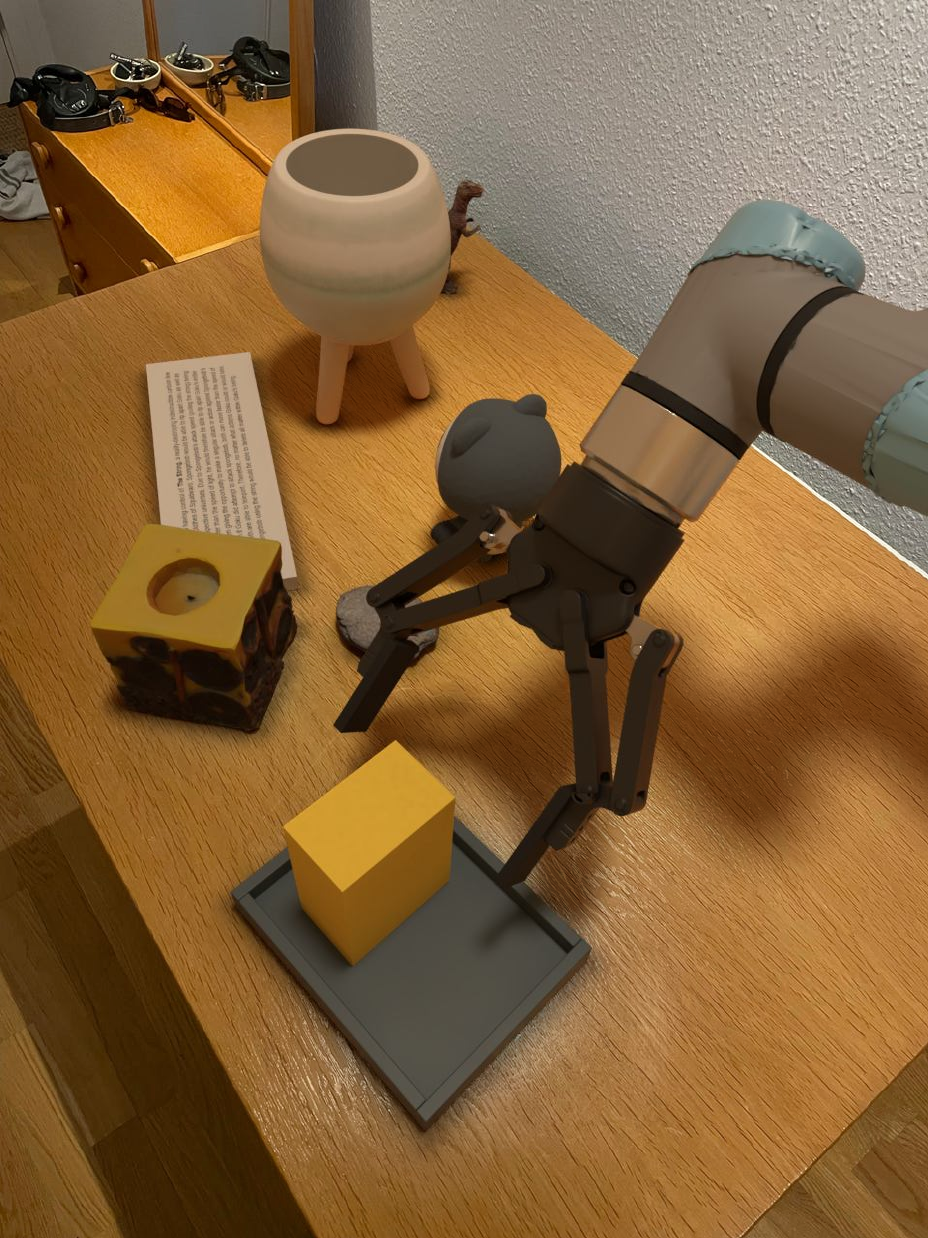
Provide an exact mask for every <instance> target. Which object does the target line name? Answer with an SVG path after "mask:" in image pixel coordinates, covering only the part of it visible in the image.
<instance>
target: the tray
mask: <svg viewBox="0 0 928 1238" xmlns="http://www.w3.org/2000/svg"><path fill="white" fill-rule="evenodd" d="M504 865H505V863H504V862H503V860H501V858H499V857H498V856H497V855H496V854H495V853H494V852H493V851H492V850H491V849H489V847H488V846H487V845H486V844H484V842H482V840H480V838H478V837H477V836H476V835H475V834H474V833H473V832H472V831H471V830H470V829H469V828H467V827H466V825H465V824H463V823H462V822H461V820H459V819H458V818H457V817H456V816H455V815H454V825H453V838H452V852H451V866H450V879H449V881H448V882H447V883H446V884H445V885H444V886H443V887H442V888H441V889H439V890H438V891H437V892H436V893H435V894H434V895H433V896H432V897H430V898H429V899H428V900H427V901H426V902H425V903H424V904H423V905H421V906H420V907H419V908H418V909H417V910H416V911H415V912H414V913H412V914H411V915H410V916H409V917H408V918H407V919H406V920H405V921H403V922H402V923H401V924H400V925H399V926H398V927H397V928H396V929H394V930H393V931H392V932H391V933H390V934H389V935H388V936H387V937H385V938H384V939H383V940H382V941H381V942H380V943H379V944H378V945H376V946H375V947H374V948H373V949H372V950H371V951H370V952H369V953H367V954H366V955H365V956H364V957H363V958H362V959H361V960H360V961H358V962H357V963H356V964H355V965H354V966H352V965H351V964H350V963H349V962H348V961H347V959H346V958H345V957H344V956H343V955H342V954H341V953H340V951H339V950H338V949H337V948H336V947H335V946H334V945H333V943H332V942H331V941H330V940H329V939H328V938H327V936H326V935H325V934H324V933H323V932H322V931H321V930H320V928H319V927H318V926H317V925H316V924H315V923H314V922H313V920H312V919H311V918H310V917H309V916H308V915H307V914H306V912H305V911H304V910H303V909H302V907H301V903H300V899H299V894H298V890H297V886H296V881H295V877H294V873H293V868H292V864H291V860H290V855H289V851H288V847H287V846H286V847H285V848H284V849H282V850H281V851H280V852H278V853H277V854H276V855H275V856H273V858H271V859H269V861H267V862H266V863H264V864H263V865H262V866H261V867H259V868H258V869H257V870H256V871H254V872H253V873H252V874H251V875H249V876H248V877H247V878H246V879H244V880H243V881H242V882H241V883H239V884H238V885H237V886H235V888H233V889H232V890H231V891H230V895H231V898H232V901H233V903H234V906H235V908H236V909H237V910H238V912H239V913H240V914H241V915H242V916H243V917H244V918H245V920H246V921H247V922H248V923H249V924H250V926H251V927H252V928H253V929H254V931H256V933H257V934H258V936H260V938H261V939H262V940H263V942H265V943H266V945H267V946H268V947H269V949H271V950H272V952H273V953H274V954H275V955H276V956H277V958H278V959H279V960H280V962H282V964H283V965H284V966H285V967H286V968H287V970H288V971H289V972H290V973H291V974H292V976H293V977H294V978H295V980H297V981H298V983H299V984H300V985H301V986H302V987H303V988H304V990H305V991H306V992H307V993H308V994H309V995H310V997H311V998H312V999H313V1000H314V1002H315V1003H316V1004H317V1005H318V1006H319V1008H320V1009H321V1010H322V1011H323V1013H325V1014H326V1016H327V1017H328V1018H329V1019H330V1020H331V1022H332V1023H333V1024H334V1025H335V1026H336V1027H337V1029H338V1030H339V1031H340V1032H341V1033H342V1035H343V1036H344V1037H345V1038H346V1040H347V1041H348V1042H349V1043H350V1044H351V1045H352V1047H353V1048H354V1049H355V1050H356V1051H357V1053H358V1054H359V1055H360V1056H361V1057H362V1058H363V1060H364V1061H365V1062H366V1063H367V1064H368V1065H369V1067H370V1068H371V1070H373V1071H374V1072H375V1074H376V1075H377V1076H378V1078H379V1079H380V1080H381V1081H382V1082H383V1084H384V1085H386V1087H387V1088H388V1089H389V1090H390V1091H391V1093H392V1094H393V1096H395V1097H396V1099H397V1100H398V1101H399V1102H400V1103H401V1105H402V1106H403V1107H404V1108H405V1109H406V1110H407V1112H408V1113H409V1114H410V1115H411V1116H412V1118H413V1119H414V1120H415V1121H416V1123H418V1125H419V1126H420V1127H421V1128H422V1129H423V1131H424V1132H427V1131H428V1130H429V1129H430V1127H432V1125H434V1124H435V1123H436V1121H437V1120H438V1119H439V1118H440V1117H442V1115H443V1114H444V1113H445V1112H446V1111H447V1110H448V1108H450V1106H451V1105H452V1104H453V1103H454V1102H455V1101H456V1100H457V1099H458V1098H459V1097H460V1096H461V1095H462V1094H463V1093H464V1092H465V1091H466V1090H467V1088H469V1086H470V1085H471V1084H472V1083H473V1082H475V1080H476V1079H477V1078H478V1077H479V1076H480V1075H481V1074H482V1073H483V1071H485V1069H486V1068H487V1067H488V1066H489V1065H490V1064H491V1063H492V1062H493V1061H495V1059H496V1058H497V1057H498V1056H499V1055H500V1053H501V1052H503V1050H504V1049H506V1047H507V1046H508V1045H509V1044H510V1043H511V1042H512V1041H513V1040H514V1039H515V1038H516V1037H517V1036H518V1034H519V1033H520V1032H521V1031H523V1029H524V1028H525V1027H526V1026H527V1025H528V1024H529V1023H530V1022H531V1021H532V1020H533V1019H534V1017H536V1015H538V1013H540V1011H541V1010H542V1009H543V1008H544V1007H545V1006H546V1005H547V1004H548V1003H549V1002H550V1001H551V1000H552V999H553V998H554V996H556V994H557V993H558V992H559V991H561V989H562V988H563V987H564V986H565V985H566V984H567V983H568V982H569V981H570V980H571V978H572V977H573V976H574V975H576V973H577V972H578V971H579V970H580V969H581V968H582V967H583V966H584V965H585V964H586V963H587V961H588V960H589V957H590V954H591V951H592V949H593V947H592V945H590V943H588V942H587V941H586V939H584V938H583V937H582V936H581V935H580V934H579V933H578V932H576V931H575V930H574V929H573V928H572V927H571V926H570V925H569V924H568V923H567V922H566V921H565V920H564V919H563V918H562V917H561V916H560V915H559V914H557V912H556V911H554V909H553V908H551V907H550V906H549V904H547V903H546V902H545V901H544V900H543V899H542V898H541V897H540V896H539V895H538V894H537V893H535V891H533V889H532V888H530V887H529V886H528V885H527V884H526V883H525V881H523V882H521V883H518V884H516V885H513V886H511V887H508V888H506V889H503V888H502V887H501V886H500V885H499V884H498V883H497V882H496V881H495V880H494V879H495V878H496V876H497V875H498V873H499V872H500V870H501V869H502V868H503V866H504Z"/></svg>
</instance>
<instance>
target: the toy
mask: <svg viewBox="0 0 928 1238" xmlns="http://www.w3.org/2000/svg"><path fill="white" fill-rule="evenodd" d="M547 414H548V405H547V402H546V399H544V397H543V396H542V395H540V394H537V393H529V394H526V395H524V396H522V397H521V398H519V399H517V400H515V401H514V400H510V399H505V398H494V397H491V398H481V399H479V400H476V401H474V402H471V403H469V404H468V405H466V406H465V407H464V408H463V409H462V411H460V412H459V413H458V414H457V416H456V417H454V418H453V419H452V421H451V422H450V423H449V424H448V426H447V427H446V428H445V430H444V432H443V434H442V435H441V436H440V439H439V442H438V444H437V447H436V448H437V449H436V454H435V461H434V474H435V479H436V483H437V489H438V493H439V496H440V498H441V500H442V501H443V503H444V504H445V506H446V507H447V508H448V509H449V510H450V511H451V512H453V513H454V514H456V515H457V516H454V517H451V518H447V519H444V520H441V521H439V522H437V523H436V524H435V525H434V526H433V527H432V528H431V530H430V532H429V533H430V538H431V539H432V541H434V543H435V545H436V546H437V545H438V544H440V543H441V542H443V541H444V540H446V539H447V538H449V537H450V536H452V535H453V534H455V533H456V532H458V531H460V530H461V529H462V527H463V526H464V525H465V524H466V522H467V521H468V520H469V518H470V517H471V516H472V515H473V513H474V512H475V511H476V509H477V508H478V507H479V506H480V505H481V504H484V503H489V504H491V505H494V506H496V507H499V508H501V509H504V510H506V511H508V512H510V513H511V515H512V517H513V522H514V523H515V524H516V525H517V526H518V527H519V528H520V529H521V530H524V529H523V527H524V523H526V522H527V521H528V520H531V519H532V518H535V516H536V514H537V511H538V509H539V507H540V505H541V504H542V502H543V501H544V499H545V498H546V496H547V495H548V493H549V492H550V490H551V489H552V487H553V485H554V484H555V482H556V481H557V479H558V478H559V476H560V475H561V473H562V472H561V471H562V450H561V447H560V444H559V441H558V438H557V435H556V433H555V431H554V429H553V427H552V425H551V424H550V422H549V421H548V420H547V418H546V416H547ZM508 546H509V545H506V546H504V547H503V548H501V549H500V550H490V551H489V552H488V553H487V554H486V555H484V556H483V557H481V558H480V559H478V560H477V561H478V562H481V563H488V562H489V561H490V560H491V558H492V557H493V556H494V555H501V554H506V556H507V557H508Z"/></svg>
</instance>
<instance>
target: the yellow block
mask: <svg viewBox="0 0 928 1238" xmlns="http://www.w3.org/2000/svg"><path fill="white" fill-rule="evenodd" d="M455 807H456V796H455V795H454V794H453V793H452V792H451V791H450V790H449V789H447V787H446V786H445V785H444V784H443V783H442V782H441V781H439V780H438V779H437V778H436V777H435V776H434V775H433V774H432V773H431V772H430V771H429V770H428V769H427V768H425V766H423V764H421V762H419V760H417V759H416V758H415V756H413V755H412V754H411V753H410V752H409V751H408V750H407V749H406V748H405V747H404V746H402V744H400V743H399V742H398V741H397V740H396V739H395V740H394V741H392V742H391V743H390V744H388V745H387V746H385V748H383V749H382V750H381V751H379V752H378V753H376V754H375V755H374V756H373V757H372V758H370V759H369V760H367V761H366V762H365V763H364V764H362V765H361V766H360V767H358V768H357V769H356V770H355V771H353V772H352V773H350V774H349V775H348V776H347V777H346V778H344V779H343V780H342V781H340V782H339V783H337V784H336V785H335V786H333V787H332V788H331V789H330V790H328V791H327V792H326V793H324V794H323V795H322V796H321V797H319V798H318V799H317V800H315V801H314V802H313V803H312V804H310V805H309V806H307V808H305V809H304V810H302V811H301V812H300V813H298V814H297V815H296V816H294V817H293V818H292V819H291V820H289V821H288V822H286V824H284V825H283V826H282V829H283V834H284V838H285V843H286V847H288V851H289V855H290V860H291V864H292V868H293V873H294V877H295V881H296V886H297V890H298V894H299V899H300V903H301V907H302V909H303V910H304V911H305V912H306V914H307V915H308V916H309V917H310V918H311V919H312V920H313V922H314V923H315V924H316V925H317V926H318V927H319V928H320V930H321V931H322V932H323V933H324V934H325V935H326V936H327V938H328V939H329V940H330V941H331V942H332V943H333V945H334V946H335V947H336V948H337V949H338V950H339V951H340V953H341V954H342V955H343V956H344V957H345V958H346V959H347V961H348V962H349V963H350V964H351V965H352V966H354V965H355V964H356V963H357V962H358V961H360V960H361V959H362V958H363V957H364V956H365V955H366V954H367V953H369V952H370V951H371V950H372V949H373V948H374V947H375V946H376V945H378V944H379V943H380V942H381V941H382V940H383V939H384V938H385V937H387V936H388V935H389V934H390V933H391V932H392V931H393V930H394V929H396V928H397V927H398V926H399V925H400V924H401V923H402V922H403V921H405V920H406V919H407V918H408V917H409V916H410V915H411V914H412V913H414V912H415V911H416V910H417V909H418V908H419V907H420V906H421V905H423V904H424V903H425V902H426V901H427V900H428V899H429V898H430V897H432V896H433V895H434V894H435V893H436V892H437V891H438V890H439V889H441V888H442V887H443V886H444V885H445V884H446V883H447V882H448V881H449V879H450V866H451V852H452V838H453V825H454V816H455V811H456V810H455V809H456V808H455Z"/></svg>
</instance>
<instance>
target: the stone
mask: <svg viewBox="0 0 928 1238" xmlns="http://www.w3.org/2000/svg"><path fill="white" fill-rule="evenodd" d="M374 586H375V585H364V586H359V587H355V588H353V589H351V590H347V591H346V592H343V594H341V595H340V597H339V598H338V600H337V603H336V608H335V615H336V620H337V624H338V628H339V633H340V636H341V637H342V639H343V640H344V641H345V642H346V643H348V644H350V645H352V646H353V647H355V648H358V649H359V650H361V651H363V652H364V653H365V652H366V650H367V649H368V647H369V645H370V644H371V642H372V641H373V639H374V638H375V636H376V634H377V633H378V631H379V629H380V624H381V622H380V618H379V616H378V614H377V612H376V610H375V608H374V607H371V606H369V605H368V603H367V600H366V595H367V593H368V591H369V590H370V589H371V588H373V587H374ZM422 602H423V601H422V600H420V599H418V598H417V599H415V600H414V601H412V602H410V603H409V604H407V605H406V606H405V607H409V606H412V605H416V604H419V603H422ZM439 633H440V627H439V628H435V629H432V630H429V631H425V632H422V633H419V634H418V636H409V637H408V639H407V640H412V641H413V642H414V643H416V644H417V645H418V646H419V647H420V649H419V650H418V652H417V653H416V655H415V656H414V658H413V659H412V661H414V660H416V659H417V658H418V657H419V656H420V653H421V652H422V651H423V649H425V648H426V647H428V646H431V645H432V644H434V643H436V642H438V638H439Z"/></svg>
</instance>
